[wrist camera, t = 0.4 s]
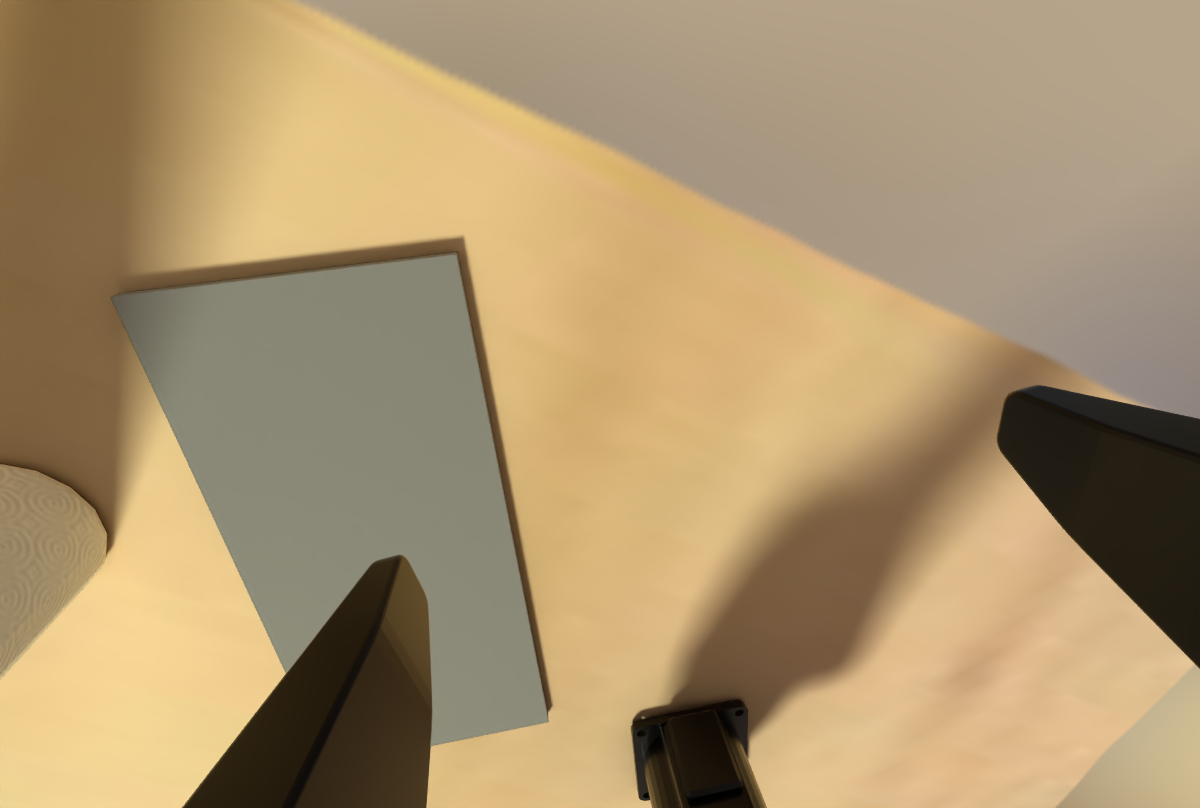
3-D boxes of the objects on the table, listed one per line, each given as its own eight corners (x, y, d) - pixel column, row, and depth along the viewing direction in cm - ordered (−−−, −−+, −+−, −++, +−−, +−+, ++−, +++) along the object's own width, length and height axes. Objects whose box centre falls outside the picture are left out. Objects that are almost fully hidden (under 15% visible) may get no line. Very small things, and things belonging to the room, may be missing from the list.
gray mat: (547, 713, 31) (548, 721, 30) (332, 757, 30) (329, 766, 29) (457, 251, 20) (456, 254, 20) (119, 293, 19) (110, 296, 19)
